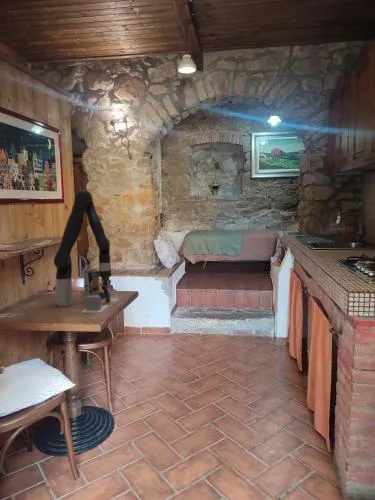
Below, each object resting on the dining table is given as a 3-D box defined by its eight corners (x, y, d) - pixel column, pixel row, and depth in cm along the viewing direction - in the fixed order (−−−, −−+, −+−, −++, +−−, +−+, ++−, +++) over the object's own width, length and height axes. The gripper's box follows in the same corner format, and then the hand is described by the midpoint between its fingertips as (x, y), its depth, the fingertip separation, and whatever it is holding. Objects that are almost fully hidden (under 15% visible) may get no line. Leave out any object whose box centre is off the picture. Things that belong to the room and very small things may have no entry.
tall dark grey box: (91, 306, 228) (90, 297, 227) (99, 301, 241) (99, 292, 240) (106, 307, 226) (105, 297, 226) (114, 301, 239) (113, 292, 238)
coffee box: (90, 295, 263) (88, 273, 261) (84, 294, 267) (83, 272, 265) (100, 293, 270) (99, 271, 268) (94, 291, 274) (93, 270, 272)
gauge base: (81, 312, 220) (80, 297, 219) (102, 299, 250) (101, 286, 249) (100, 313, 218) (99, 298, 217) (119, 300, 248) (118, 286, 247)
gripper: (103, 267, 247) (104, 293, 249) (95, 271, 234) (96, 298, 236) (114, 267, 246) (115, 293, 248) (106, 271, 233) (107, 298, 235)
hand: (106, 295), depth 242 cm, fingers closed
